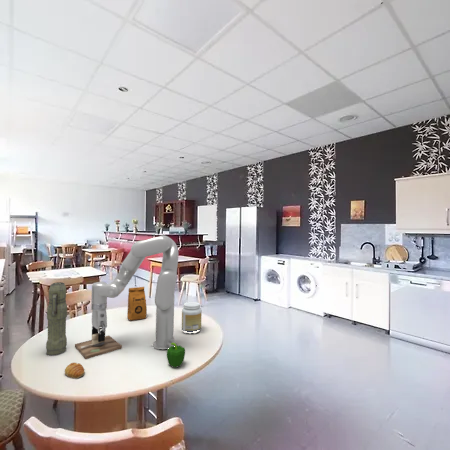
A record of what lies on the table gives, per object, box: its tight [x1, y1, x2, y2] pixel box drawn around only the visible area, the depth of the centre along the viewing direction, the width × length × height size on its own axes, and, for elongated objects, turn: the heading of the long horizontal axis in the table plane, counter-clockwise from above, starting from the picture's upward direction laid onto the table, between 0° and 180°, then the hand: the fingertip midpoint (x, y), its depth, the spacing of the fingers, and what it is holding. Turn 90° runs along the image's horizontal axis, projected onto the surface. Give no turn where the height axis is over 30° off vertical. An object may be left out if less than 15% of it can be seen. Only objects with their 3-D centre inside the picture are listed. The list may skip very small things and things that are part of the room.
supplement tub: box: [181, 301, 202, 332], centre depth 174 cm, size 12×12×17 cm
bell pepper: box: [166, 343, 186, 368], centre depth 132 cm, size 8×8×10 cm
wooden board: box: [74, 335, 123, 360], centre depth 148 cm, size 18×18×2 cm
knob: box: [81, 332, 105, 348], centre depth 146 cm, size 12×6×6 cm, turn 133°
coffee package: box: [126, 286, 148, 321], centre depth 194 cm, size 10×12×22 cm
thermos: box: [45, 282, 68, 357], centre depth 142 cm, size 9×12×35 cm
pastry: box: [64, 362, 86, 379], centre depth 122 cm, size 9×7×4 cm
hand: (98, 338), depth 148 cm, fingers open, 9 cm apart
